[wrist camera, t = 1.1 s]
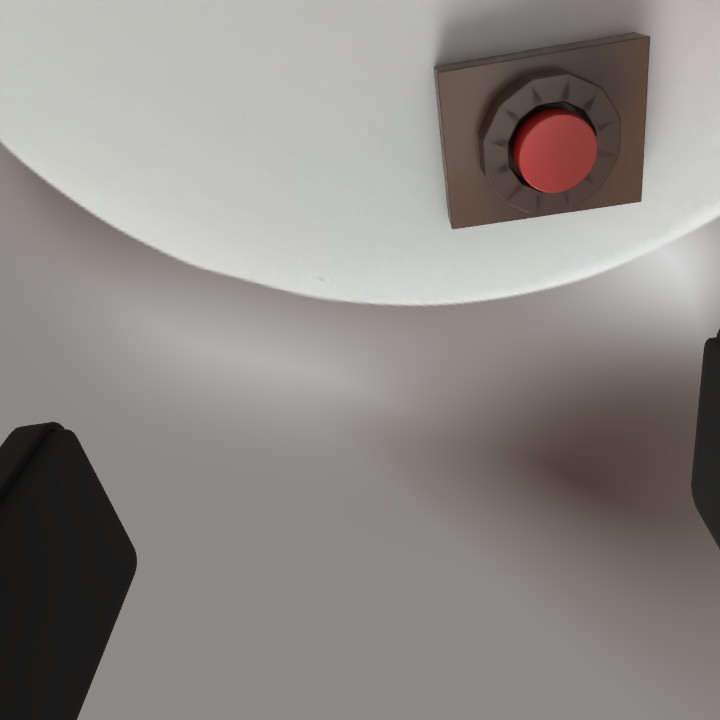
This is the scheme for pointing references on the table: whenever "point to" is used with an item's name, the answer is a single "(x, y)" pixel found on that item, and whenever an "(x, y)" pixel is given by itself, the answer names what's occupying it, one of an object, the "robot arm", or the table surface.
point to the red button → (554, 150)
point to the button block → (523, 99)
